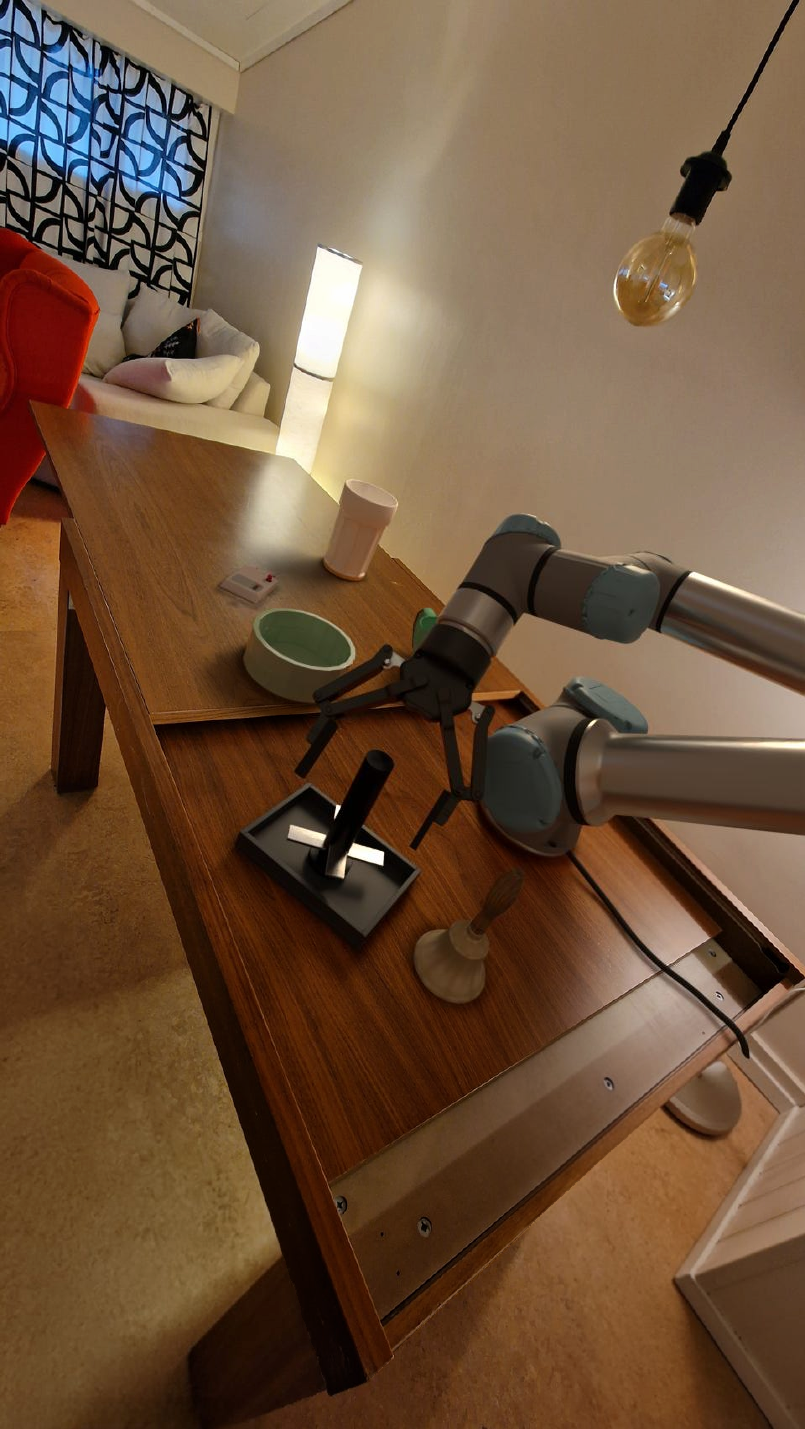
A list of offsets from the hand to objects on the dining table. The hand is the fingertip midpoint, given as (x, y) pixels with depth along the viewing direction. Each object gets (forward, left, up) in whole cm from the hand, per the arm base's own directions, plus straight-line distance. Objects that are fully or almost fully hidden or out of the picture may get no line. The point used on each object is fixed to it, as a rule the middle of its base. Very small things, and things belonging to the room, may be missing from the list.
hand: (354, 811), depth 62 cm
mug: (+16, -50, -11) cm, 53 cm away
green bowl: (+27, -27, -11) cm, 39 cm away
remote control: (+48, -40, -11) cm, 63 cm away
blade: (+1, -2, -10) cm, 10 cm away
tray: (+1, -2, -11) cm, 11 cm away
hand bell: (-16, -2, -11) cm, 20 cm away
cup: (+46, -67, -11) cm, 82 cm away
